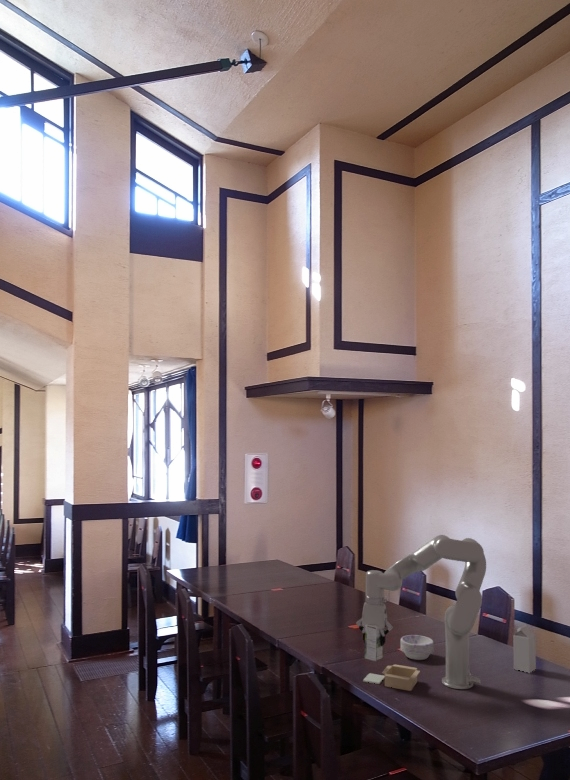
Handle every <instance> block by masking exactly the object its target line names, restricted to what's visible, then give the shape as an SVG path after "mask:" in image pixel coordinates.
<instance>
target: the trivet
mask: <svg viewBox="0 0 570 780" xmlns="http://www.w3.org/2000/svg"><path fill="white" fill-rule="evenodd" d="M382 680H383V681H384V680H385V676H384V675H383V674H382V675H381V674H376V673H372V672H370V673H368V674H367V675H366V676H365V677H364V678H363V680H362V682H364V683H368V682H369V683H370V684H374V683H375V685H381V684H382V682H383V681H382Z"/></svg>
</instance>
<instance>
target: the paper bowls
mask: <svg viewBox="0 0 570 780" xmlns="http://www.w3.org/2000/svg"><path fill="white" fill-rule="evenodd" d="M434 643H435V642H434V639H432V638H431V637H428V636H424V635H419V634H409V635H408V634H407V635H403V636H402V637H400V651H401V652H402V653H404V655H405V656H406V657H407V658H409V659H411V660H414V661H423V660H427V659H428V658H429V656H430V655H432V654H433V653H434Z"/></svg>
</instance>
